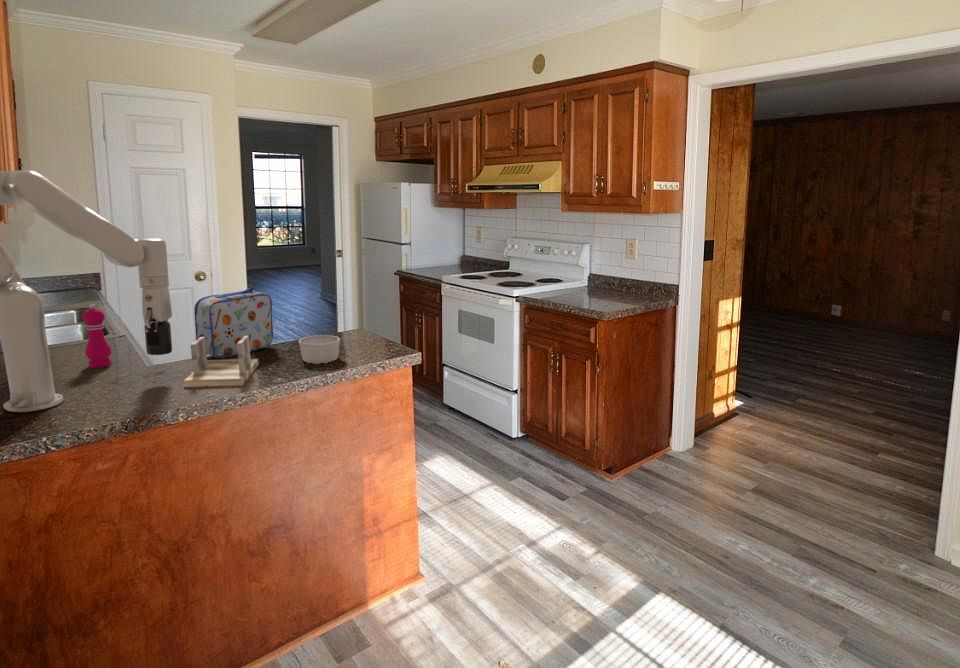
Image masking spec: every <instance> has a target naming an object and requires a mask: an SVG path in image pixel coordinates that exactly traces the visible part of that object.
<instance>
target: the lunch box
mask: <svg viewBox="0 0 960 668" xmlns="http://www.w3.org/2000/svg"><path fill="white" fill-rule="evenodd" d="M272 300H273V299H272V297H271V295H270V294H268V293H266V292H260V291H257V290H254V287H247V288H246V289H244V290H241V291H236V292H229V293H221V294H215V295H213V294H212V295H208V296H204V297H201V298H200V299H198V300H197V302H195V305H194V312H193V313H194V326H195V341H196V340H197V339H199V338H200V337H205V343H206V354H207V356H211V357H214V358H215V359H216V358H218V359H225V358H229V357H230V358H231V357H235V356H238V351H237V343H238V342H239V341H240V340H241V339H242V338H243V337H244V336H249V344H250V353H251V352H254V351H257V350H262V349H265V348H266V347H265V346H268V347H269V346H271V344H272V342H273V339H274V326H273V325H274V324H273V322H274V321H273V301H272ZM261 347H262V348H261ZM255 348H256V349H255ZM219 354H221V355H219Z"/></svg>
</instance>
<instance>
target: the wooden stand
mask: <svg viewBox="0 0 960 668" xmlns="http://www.w3.org/2000/svg"><path fill="white" fill-rule="evenodd" d="M237 351H238V355H237V358H236V359H235V358H234V359H209V360H208V355H207V354H206V343H205V337H200V338H199V339H197V340H196V339H195V341H194V342H192V343H191V344H190V354H191V361H192V362H191V363H192V372H191V373H190V375H188V376H187V377H186V378H185V379H184V380H183V384H184V388H205V386H208V387H232V386H233V387H235V386H236V387H237V386H244V385H245V383H246V381H247V380H248V379H249V378H250V376H251V375H252V374H253V372H254V371H255V370H256V369H257V368H258V366H259V364H260V363H259V358H252V356H251V352H250V344H249V336H244V337H243V338H242V339H241V340H240V341H239V342H238V343H237Z"/></svg>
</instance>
